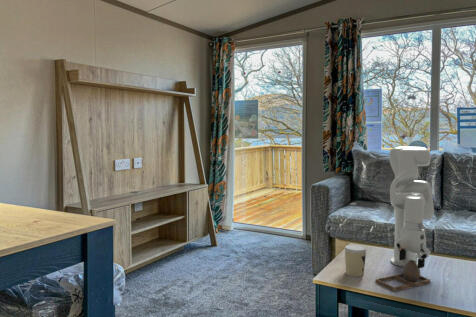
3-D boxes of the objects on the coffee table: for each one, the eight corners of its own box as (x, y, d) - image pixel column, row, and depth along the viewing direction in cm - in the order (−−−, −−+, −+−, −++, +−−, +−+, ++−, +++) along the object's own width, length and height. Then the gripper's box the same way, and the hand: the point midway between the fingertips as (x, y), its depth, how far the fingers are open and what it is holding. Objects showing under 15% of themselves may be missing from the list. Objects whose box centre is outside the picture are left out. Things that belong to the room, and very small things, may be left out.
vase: (418, 285, 161) (419, 264, 161) (401, 281, 165) (401, 261, 164) (421, 279, 167) (421, 260, 166) (403, 276, 171) (404, 257, 170)
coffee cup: (366, 278, 169) (367, 251, 168) (344, 276, 171) (345, 249, 170) (364, 270, 178) (364, 244, 177) (343, 268, 180) (343, 243, 179)
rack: (405, 272, 175) (405, 269, 175) (430, 283, 164) (430, 279, 163) (370, 280, 166) (370, 276, 166) (394, 291, 155) (394, 288, 155)
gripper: (437, 229, 158) (435, 269, 160) (403, 218, 174) (401, 255, 176) (424, 231, 155) (422, 272, 157) (390, 221, 171) (389, 258, 173)
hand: (411, 263), depth 166 cm, fingers open, 9 cm apart
